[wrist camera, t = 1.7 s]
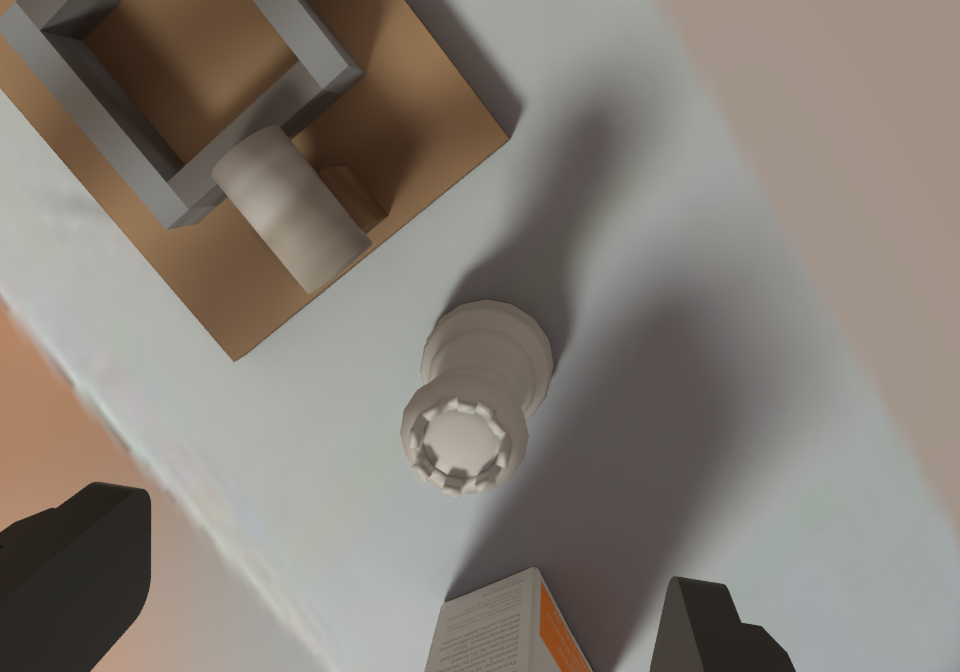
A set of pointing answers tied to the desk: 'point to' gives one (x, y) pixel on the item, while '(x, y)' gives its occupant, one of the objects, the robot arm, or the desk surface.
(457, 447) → the rook chess piece
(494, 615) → the skincare box
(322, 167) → the frame on base plate
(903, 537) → the desk surface
